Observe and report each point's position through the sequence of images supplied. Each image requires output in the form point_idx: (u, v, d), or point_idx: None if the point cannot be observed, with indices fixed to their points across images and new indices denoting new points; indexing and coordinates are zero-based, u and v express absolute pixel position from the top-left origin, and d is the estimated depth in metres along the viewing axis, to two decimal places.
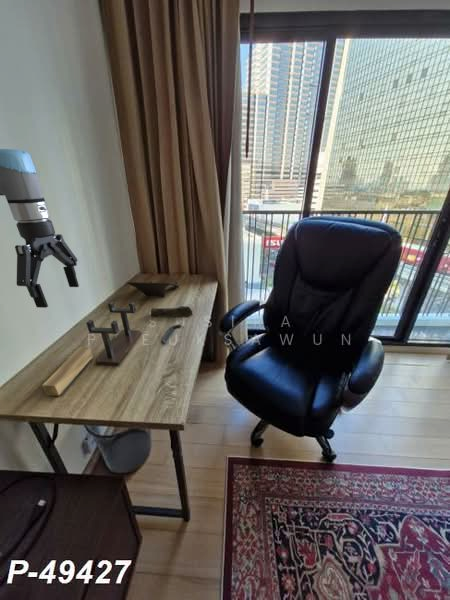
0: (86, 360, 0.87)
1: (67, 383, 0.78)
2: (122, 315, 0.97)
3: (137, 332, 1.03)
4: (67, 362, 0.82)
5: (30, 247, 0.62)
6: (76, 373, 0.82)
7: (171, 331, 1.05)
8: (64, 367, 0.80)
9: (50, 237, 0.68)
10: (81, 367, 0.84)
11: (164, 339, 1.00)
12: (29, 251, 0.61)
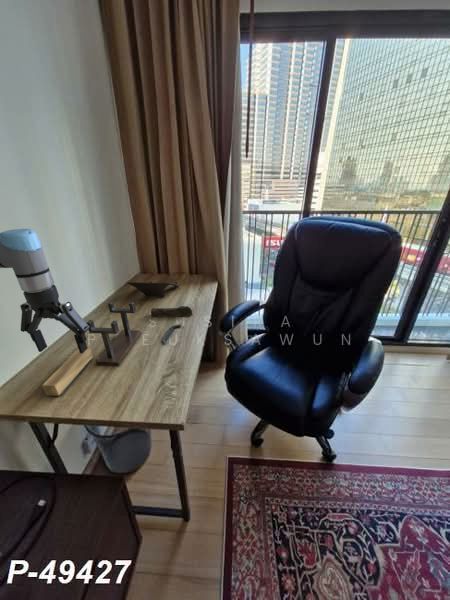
0: (86, 360, 0.87)
1: (67, 383, 0.78)
2: (122, 315, 0.97)
3: (137, 332, 1.03)
4: (67, 362, 0.82)
5: None
6: (76, 373, 0.82)
7: (171, 331, 1.05)
8: (64, 367, 0.80)
9: None
10: (81, 367, 0.84)
11: (164, 339, 1.00)
12: None
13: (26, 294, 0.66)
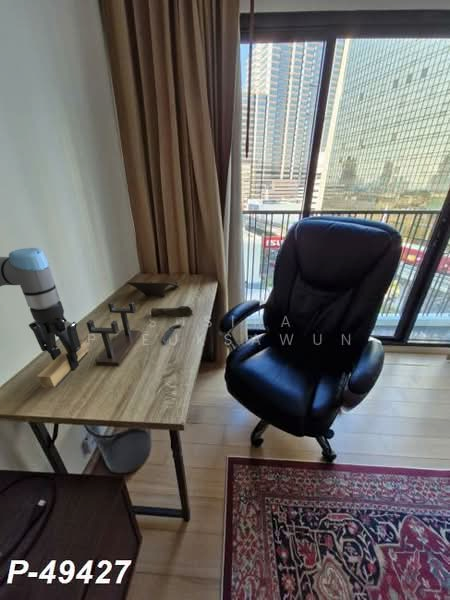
0: (83, 353, 0.85)
1: (63, 375, 0.76)
2: (122, 315, 0.97)
3: (137, 332, 1.03)
4: (63, 354, 0.80)
5: None
6: None
7: (171, 331, 1.05)
8: (60, 359, 0.78)
9: None
10: (77, 359, 0.83)
11: (164, 339, 1.00)
12: None
13: (33, 311, 0.68)
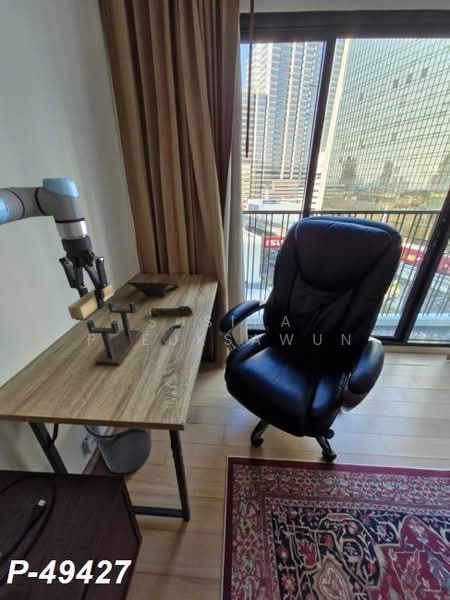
0: (108, 295, 0.87)
1: (91, 310, 0.78)
2: (122, 315, 0.97)
3: (137, 332, 1.03)
4: (90, 293, 0.82)
5: None
6: None
7: (171, 331, 1.05)
8: (88, 296, 0.80)
9: None
10: None
11: (164, 339, 1.00)
12: None
13: (64, 240, 0.70)
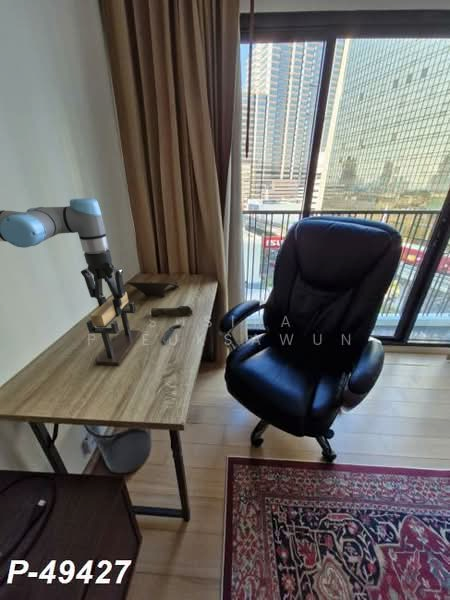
0: (124, 303, 0.94)
1: (110, 318, 0.85)
2: (122, 315, 0.97)
3: (137, 332, 1.03)
4: (108, 301, 0.89)
5: None
6: None
7: (171, 331, 1.05)
8: (106, 304, 0.87)
9: None
10: None
11: (164, 339, 1.00)
12: None
13: (87, 255, 0.77)
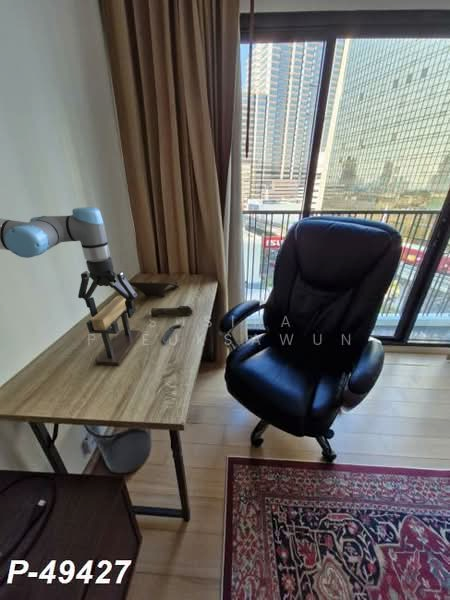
0: (124, 306, 0.95)
1: (111, 321, 0.85)
2: (122, 315, 0.97)
3: (137, 332, 1.03)
4: (109, 305, 0.89)
5: None
6: (117, 315, 0.89)
7: (171, 331, 1.05)
8: (107, 308, 0.87)
9: None
10: (121, 311, 0.92)
11: (164, 339, 1.00)
12: None
13: (89, 263, 0.78)
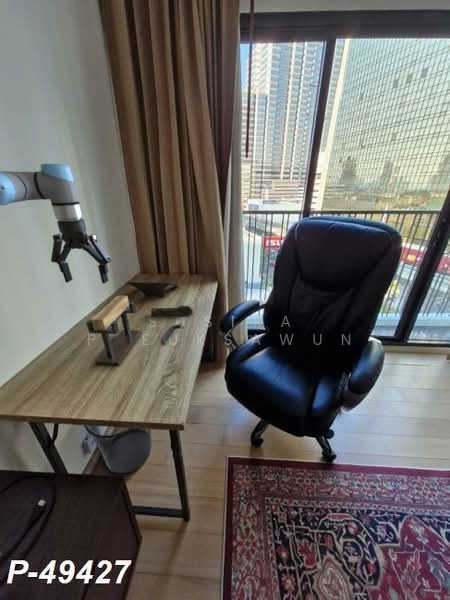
0: (124, 306, 0.95)
1: (111, 321, 0.85)
2: (122, 315, 0.97)
3: (137, 332, 1.03)
4: (109, 305, 0.89)
5: None
6: (117, 315, 0.89)
7: (171, 331, 1.05)
8: (107, 308, 0.87)
9: None
10: (121, 311, 0.92)
11: (164, 339, 1.00)
12: None
13: (60, 222, 0.76)
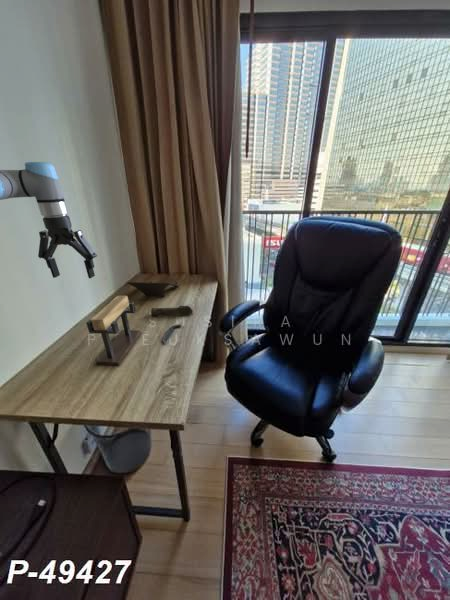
0: (124, 306, 0.95)
1: (111, 321, 0.85)
2: (122, 315, 0.97)
3: (137, 332, 1.03)
4: (109, 305, 0.89)
5: None
6: (117, 315, 0.89)
7: (171, 331, 1.05)
8: (107, 308, 0.87)
9: None
10: (121, 311, 0.92)
11: (164, 339, 1.00)
12: None
13: (45, 219, 0.79)
